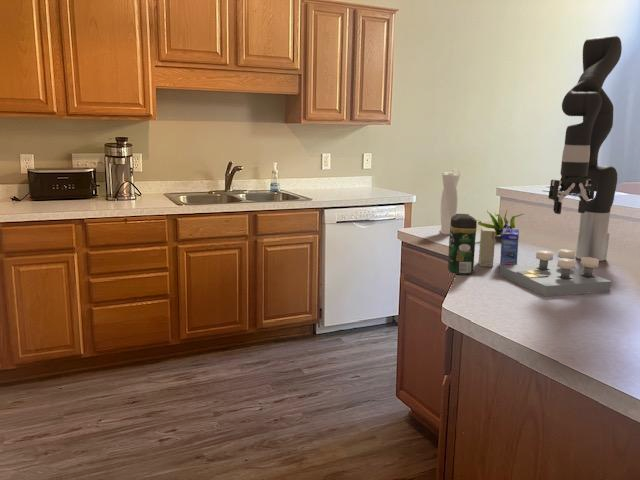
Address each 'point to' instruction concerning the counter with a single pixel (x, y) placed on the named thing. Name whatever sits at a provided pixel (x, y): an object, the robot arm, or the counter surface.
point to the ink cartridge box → (509, 246)
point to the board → (554, 280)
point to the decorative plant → (499, 226)
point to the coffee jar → (462, 244)
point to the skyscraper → (448, 200)
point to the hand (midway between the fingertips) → (569, 213)
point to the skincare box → (487, 247)
